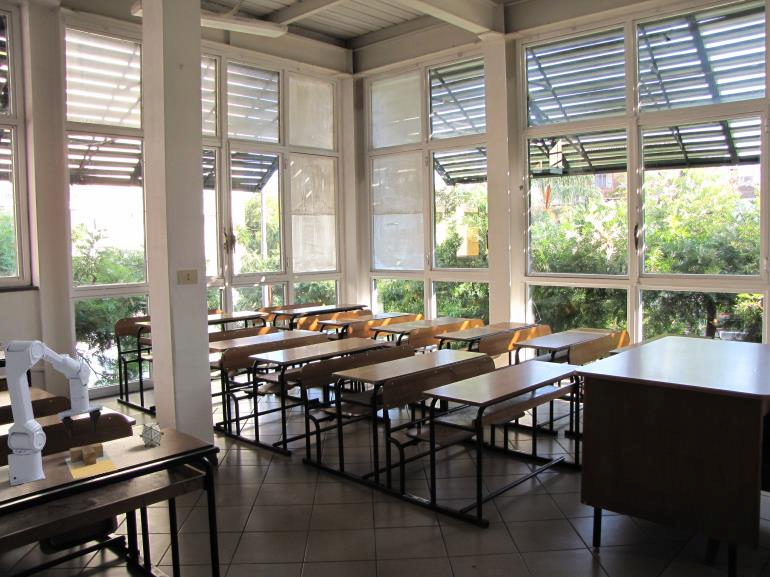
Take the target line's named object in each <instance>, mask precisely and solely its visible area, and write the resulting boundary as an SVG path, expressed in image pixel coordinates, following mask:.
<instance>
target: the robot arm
mask: <svg viewBox="0 0 770 577" xmlns="http://www.w3.org/2000/svg"><path fill="white" fill-rule="evenodd" d="M3 354H4V360H5V368H4V372H5V378H6V383H7V390H8V394H9V401H10V406H11V411H12V416H13V417H12V418H13V425H11V426H10V427H9V429H8V430H7V431H8V438H7V446H8V448H9V449H11V450H12V453H11V454H8V455H7V460H8V461H7V462H8V472H7V475H8V479H9V482H10V483H9V484H10V486H16V485H23V484H25V483H30V482H36V481H41V480H44V479H46V476H45V473H44V471H43V461H42V450H43V448H44V447H45V444H46V440H47V436H46V433H45V432H44V431H43V427H42V425H41V424H40V423H39V422H38V421H36V420H35V417H34V411H33V410H34V409H33V406H32V399H31V394H30V387H29V382H28V375H27V373H28V372H27V371H28V370H30V369H31V368H32V367H34V366H35V365H36V364H37V363H38V362H39V361H40V360H44V361H46V362H48V363H51V364H52V367H53V368H54V370H56V371H58V372H60V373H61V374H63V375H64V377H65V378H66V379H67V380H69V382H68V383H69V393H70V404H71V405H70V406H71V408H70V409H68V410H66V411H61V412H58V413H57V416H58V419H59V420H61V422H62V423H63V425H64V427H65V429H66V431H67V433H68V438H74V435H75V434H74V428H73V427H74V419H73V418H72V417H76V416H79V415H84V414H88V415H89V420H90V430H91V432H92V433H96V431H97V428H98V427H97V426H98V422H99V419H100V418H101V415H102V411H103V410H104V409H103V404H101V403H99V404H92V405H90V400H89V399H90V398H89V387H88V385H89V381H90V376H91V369H90V366H88V364H87V363H83V362H79V360H78V359H75V358H72V357H71V356H70V354H68V353H61V354H58V353H57V352H55V351H54V350H52V349H51V348H50V347H48V346H47V345H46V343H45V342H42V341H40V340H11V341H9V343H7V345H6V347H5V348H4V350H3Z"/></svg>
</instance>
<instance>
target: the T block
mask: <svg viewBox="0 0 770 577" xmlns="http://www.w3.org/2000/svg"><path fill="white" fill-rule="evenodd" d="M103 451H104V446H103V443H102V442H98V443H93V444H89V445H82V446H76V447H71V448H69V455H70V456H69V458H70V459H71V462H72V463H74V462H79V461H83V463H84V465H85V466H87V465H92V464H96V458H99V457H104V455H103Z"/></svg>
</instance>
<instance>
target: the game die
mask: <svg viewBox="0 0 770 577" xmlns="http://www.w3.org/2000/svg"><path fill="white" fill-rule="evenodd" d="M159 424H160V422H157V423H156V424H150V425H149V424H148V425H147V424H146V425H145V423H144V424H143V430H142V431H141V434H139V435H138V436H139V437H140V438H141V439H142V441H143V444H144V447H145V448H146V447H147V446H153V445H154V446H155V445H158V446H161V444H160V442H161V439H162V436H164V435H165V433H164V431H162V430H161V427H160V426H159Z"/></svg>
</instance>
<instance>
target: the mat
mask: <svg viewBox="0 0 770 577" xmlns="http://www.w3.org/2000/svg"><path fill="white" fill-rule="evenodd" d="M103 455H104V457H99V458H96V464H92V465H87V466H85V465H84V463H83V461H79V462H74V463H72V462H71V459H70V457H67V458H64V460H65V463H66V465H67V467H68V469H69V471H70V473H71V476H72V478H73V480H76V479H81V478H85V477H90V476H95V475H99V474H105V473H109V472H113V471H118V468H117V467H116V465H115V463H114V462H113V461H112V459H111V458H110V456H109V454H108V453H107V452H106V450H103Z"/></svg>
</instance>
